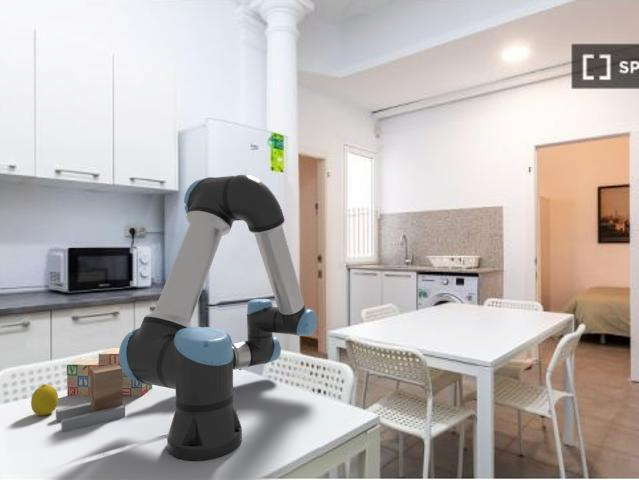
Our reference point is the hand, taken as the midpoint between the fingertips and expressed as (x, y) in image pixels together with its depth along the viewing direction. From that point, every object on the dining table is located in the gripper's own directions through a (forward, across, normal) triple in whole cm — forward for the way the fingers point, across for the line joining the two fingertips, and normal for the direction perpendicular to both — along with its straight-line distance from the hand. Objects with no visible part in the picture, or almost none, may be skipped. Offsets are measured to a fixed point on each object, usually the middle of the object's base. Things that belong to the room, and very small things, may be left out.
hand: (147, 373), depth 112 cm
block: (+10, 0, -8) cm, 12 cm away
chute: (+13, 0, -8) cm, 16 cm away
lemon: (+21, +10, -9) cm, 25 cm away
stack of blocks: (+5, +16, -9) cm, 19 cm away
